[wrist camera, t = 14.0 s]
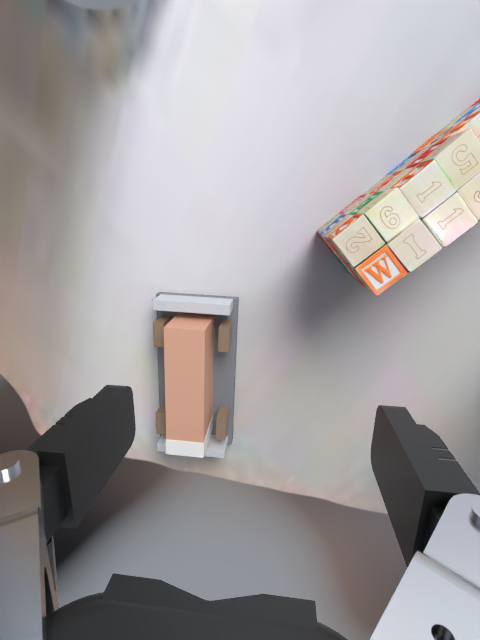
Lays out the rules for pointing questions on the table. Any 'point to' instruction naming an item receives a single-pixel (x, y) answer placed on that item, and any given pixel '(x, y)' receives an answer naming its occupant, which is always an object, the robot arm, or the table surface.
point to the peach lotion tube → (189, 383)
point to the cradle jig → (223, 361)
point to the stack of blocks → (412, 208)
